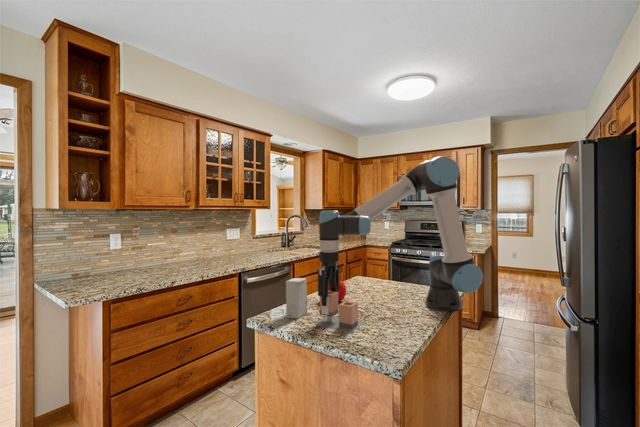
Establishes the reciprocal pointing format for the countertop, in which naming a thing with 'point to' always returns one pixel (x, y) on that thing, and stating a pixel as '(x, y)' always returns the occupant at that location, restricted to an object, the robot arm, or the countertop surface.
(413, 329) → the countertop surface
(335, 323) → the pin board
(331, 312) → the sleeve free
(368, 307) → the countertop surface
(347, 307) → the sleeve seated
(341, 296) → the tomato
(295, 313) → the skincare box
